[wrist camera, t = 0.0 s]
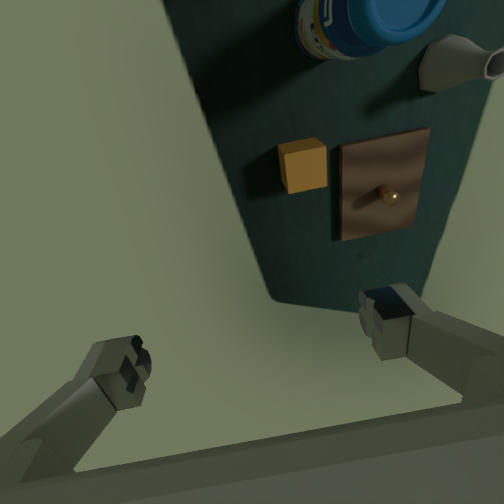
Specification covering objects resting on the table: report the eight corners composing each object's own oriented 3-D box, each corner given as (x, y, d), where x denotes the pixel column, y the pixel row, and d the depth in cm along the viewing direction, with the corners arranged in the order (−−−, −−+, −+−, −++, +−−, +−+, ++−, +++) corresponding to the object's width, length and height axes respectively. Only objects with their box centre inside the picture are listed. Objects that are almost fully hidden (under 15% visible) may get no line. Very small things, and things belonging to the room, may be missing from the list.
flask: (458, 89, 42) (516, 95, 34) (411, 96, 42) (458, 104, 34) (474, 29, 38) (544, 19, 30) (422, 37, 38) (477, 29, 30)
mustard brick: (277, 144, 44) (284, 154, 39) (314, 137, 44) (326, 146, 39) (281, 180, 48) (288, 193, 43) (316, 173, 47) (327, 185, 42)
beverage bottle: (368, -3, 35) (498, -65, 19) (335, 71, 39) (417, 75, 23) (310, -37, 33) (398, -141, 16) (281, 45, 37) (329, 29, 21)
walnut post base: (339, 144, 45) (352, 153, 41) (424, 126, 45) (447, 133, 40) (339, 237, 55) (349, 252, 51) (409, 223, 55) (425, 237, 50)
